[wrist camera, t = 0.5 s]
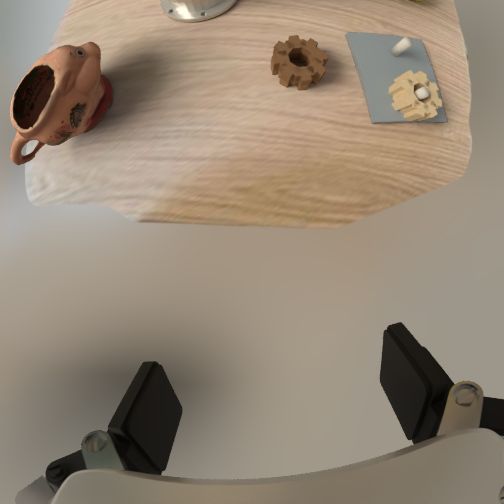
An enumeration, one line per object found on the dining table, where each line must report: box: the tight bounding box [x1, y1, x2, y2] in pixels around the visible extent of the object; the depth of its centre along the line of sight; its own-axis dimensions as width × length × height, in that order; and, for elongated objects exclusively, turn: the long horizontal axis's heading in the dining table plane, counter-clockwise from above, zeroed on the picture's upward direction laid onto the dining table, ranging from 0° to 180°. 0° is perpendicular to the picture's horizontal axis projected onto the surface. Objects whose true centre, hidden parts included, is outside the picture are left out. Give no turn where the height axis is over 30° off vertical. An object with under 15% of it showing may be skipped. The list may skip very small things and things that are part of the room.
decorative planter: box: [10, 42, 113, 165], centre depth 26 cm, size 20×12×14 cm, turn 143°
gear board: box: [345, 32, 447, 124], centre depth 27 cm, size 15×14×6 cm
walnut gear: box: [271, 35, 328, 90], centre depth 29 cm, size 7×7×4 cm
